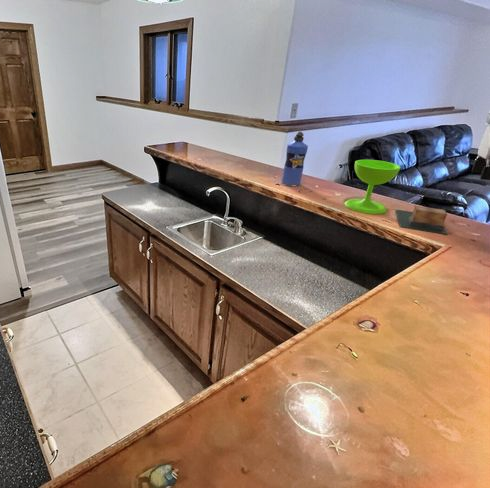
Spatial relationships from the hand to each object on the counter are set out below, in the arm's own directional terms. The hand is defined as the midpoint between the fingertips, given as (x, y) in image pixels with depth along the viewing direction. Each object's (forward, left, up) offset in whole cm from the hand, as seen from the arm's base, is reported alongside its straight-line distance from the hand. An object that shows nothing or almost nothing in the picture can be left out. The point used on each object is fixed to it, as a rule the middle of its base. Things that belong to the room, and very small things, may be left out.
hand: (481, 176), depth 113 cm
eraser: (+9, -2, -20) cm, 22 cm away
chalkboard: (+10, -6, -21) cm, 24 cm away
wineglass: (+28, -16, -21) cm, 39 cm away
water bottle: (+61, -36, -21) cm, 74 cm away
